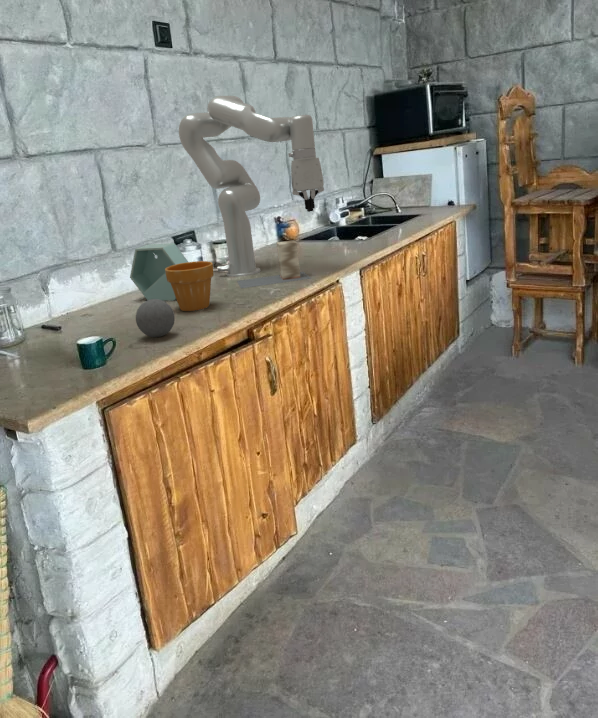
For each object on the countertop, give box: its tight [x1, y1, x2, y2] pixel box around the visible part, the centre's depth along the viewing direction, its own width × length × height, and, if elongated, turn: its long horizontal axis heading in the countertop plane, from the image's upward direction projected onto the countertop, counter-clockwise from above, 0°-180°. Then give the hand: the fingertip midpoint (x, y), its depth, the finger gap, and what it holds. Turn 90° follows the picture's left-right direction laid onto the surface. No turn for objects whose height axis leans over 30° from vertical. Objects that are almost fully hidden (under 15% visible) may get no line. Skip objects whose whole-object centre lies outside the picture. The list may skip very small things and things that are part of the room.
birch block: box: [276, 240, 301, 280], centre depth 235 cm, size 6×6×12 cm
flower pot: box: [165, 260, 215, 312], centre depth 208 cm, size 14×14×13 cm
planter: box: [129, 242, 189, 302], centre depth 225 cm, size 17×8×21 cm
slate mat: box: [236, 271, 312, 289], centre depth 236 cm, size 24×14×1 cm, turn 101°
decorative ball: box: [135, 299, 176, 338], centre depth 180 cm, size 10×10×10 cm
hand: (310, 211), depth 232 cm, fingers closed
